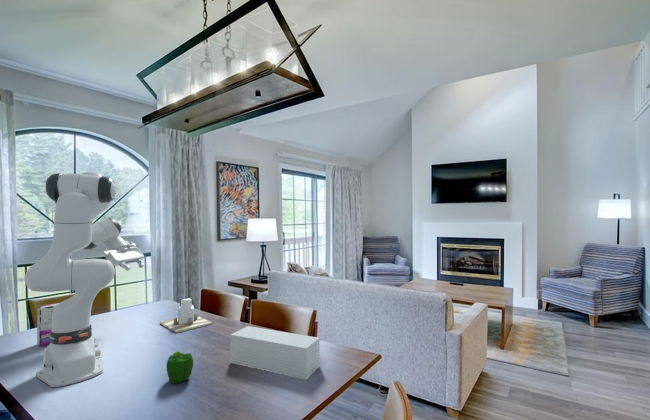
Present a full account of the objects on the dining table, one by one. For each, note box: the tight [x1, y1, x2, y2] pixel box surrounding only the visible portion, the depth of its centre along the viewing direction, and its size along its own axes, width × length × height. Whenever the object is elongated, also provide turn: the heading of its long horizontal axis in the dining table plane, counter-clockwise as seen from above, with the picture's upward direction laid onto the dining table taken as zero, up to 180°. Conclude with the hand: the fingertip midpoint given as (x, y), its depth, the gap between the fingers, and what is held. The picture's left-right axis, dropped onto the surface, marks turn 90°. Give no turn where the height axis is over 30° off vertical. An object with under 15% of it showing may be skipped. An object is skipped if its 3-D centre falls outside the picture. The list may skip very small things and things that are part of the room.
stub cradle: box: [159, 313, 213, 334], centre depth 166 cm, size 20×18×4 cm
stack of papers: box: [229, 325, 320, 380], centre depth 120 cm, size 32×11×11 cm, turn 66°
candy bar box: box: [36, 302, 60, 348], centre depth 142 cm, size 11×5×16 cm, turn 143°
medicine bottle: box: [178, 296, 195, 324], centre depth 166 cm, size 7×7×12 cm
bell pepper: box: [166, 351, 194, 385], centre depth 108 cm, size 8×8×10 cm
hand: (135, 268), depth 162 cm, fingers open, 8 cm apart
